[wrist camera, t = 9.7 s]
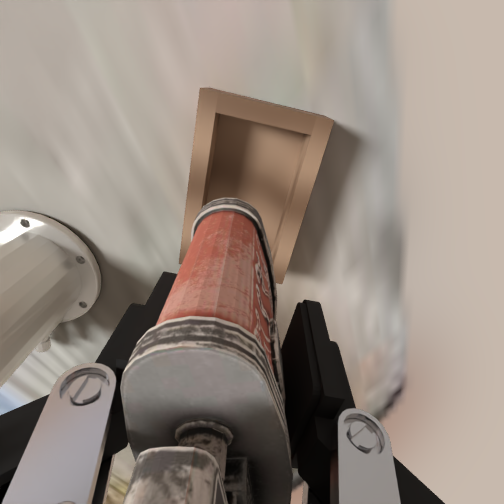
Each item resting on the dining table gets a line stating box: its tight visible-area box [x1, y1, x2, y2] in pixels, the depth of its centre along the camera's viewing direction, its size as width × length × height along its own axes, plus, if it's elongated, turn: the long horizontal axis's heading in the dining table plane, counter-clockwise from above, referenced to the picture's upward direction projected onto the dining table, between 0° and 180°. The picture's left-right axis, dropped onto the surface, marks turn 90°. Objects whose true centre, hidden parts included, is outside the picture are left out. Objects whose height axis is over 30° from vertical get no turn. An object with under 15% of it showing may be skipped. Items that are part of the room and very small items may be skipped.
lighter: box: [120, 198, 293, 504], centre depth 9 cm, size 8×3×10 cm, turn 5°
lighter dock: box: [179, 88, 334, 284], centre depth 25 cm, size 13×9×4 cm
